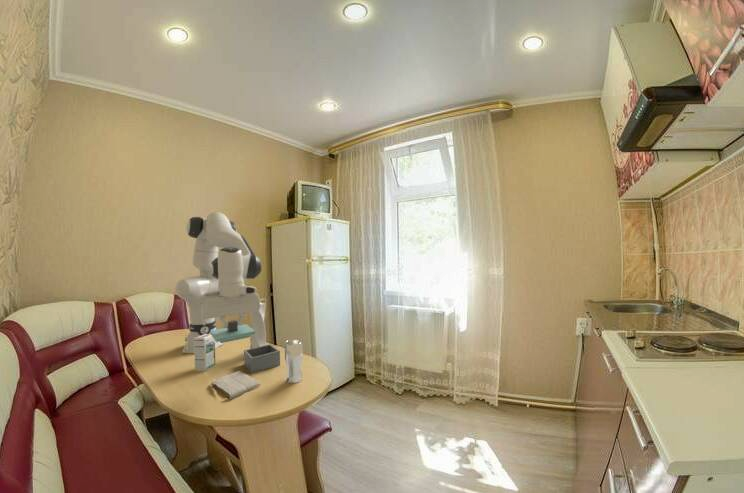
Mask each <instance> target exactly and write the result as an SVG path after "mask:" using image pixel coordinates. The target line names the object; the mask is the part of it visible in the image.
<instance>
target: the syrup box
mask: <svg viewBox="0 0 744 493" xmlns="http://www.w3.org/2000/svg"><path fill="white" fill-rule="evenodd" d="M193 354H194V371H196V372H208V370H209V369H211V368H212V367H214V366H216V349H215V340H214V338H213V337H212V335H211V334H204V335H202V336H199V337H196V338H194V353H193Z"/></svg>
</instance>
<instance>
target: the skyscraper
mask: <svg viewBox="0 0 744 493" xmlns="http://www.w3.org/2000/svg"><path fill="white" fill-rule="evenodd" d="M259 299H260V309H259V311H254V312H249V313H250V320H251V328H252V329H253V330H254V331H255V334H254V335H250V337H249V339H250V346H249V349H252V348H256V347H261V346H265V345H267V334H266V324H265V317H266V307H267V306H266V305H267V304H266V303H267V299H266V298H259ZM264 300H265V303H264V302H263V303H262V302H261V301H264Z"/></svg>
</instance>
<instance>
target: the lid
mask: <svg viewBox="0 0 744 493" xmlns="http://www.w3.org/2000/svg"><path fill="white" fill-rule="evenodd" d="M226 322H228V323H229V325H228V326H229V327H228V328H224V327H223V328H222V327H221V328H216V330H210V334H211V335H212V337H213V338H214V340H215V341H216V342H220V343H223V344H224V343H228V342H233V341H238V340H244V339H247V338H249V339H250V336H251V335H254V334H255V331H254V330H253V329H252V326H251V327H250V326H249V325H248V324H247V323H243V324H241V325H239V326H238V323H237V320H236V319H235V320H230V321H229V320H228V321H226Z"/></svg>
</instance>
